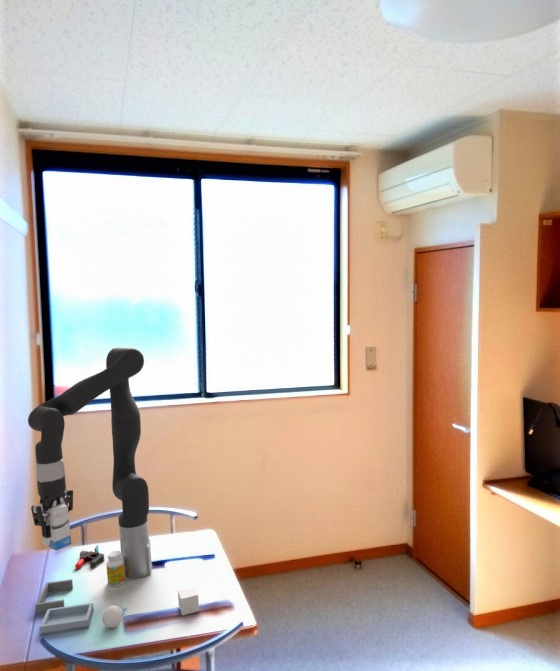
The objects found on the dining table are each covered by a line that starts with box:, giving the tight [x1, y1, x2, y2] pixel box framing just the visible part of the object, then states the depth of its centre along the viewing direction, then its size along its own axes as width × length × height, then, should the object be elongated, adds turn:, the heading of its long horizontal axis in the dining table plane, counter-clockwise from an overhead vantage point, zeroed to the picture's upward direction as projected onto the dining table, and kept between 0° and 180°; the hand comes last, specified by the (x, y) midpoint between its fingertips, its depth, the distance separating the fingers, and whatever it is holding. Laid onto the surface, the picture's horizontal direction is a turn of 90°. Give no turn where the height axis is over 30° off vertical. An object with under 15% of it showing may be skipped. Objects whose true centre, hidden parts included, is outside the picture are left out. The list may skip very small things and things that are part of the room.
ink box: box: [40, 504, 72, 551], centre depth 155 cm, size 8×5×12 cm, turn 50°
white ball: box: [101, 605, 124, 629], centre depth 150 cm, size 8×6×6 cm
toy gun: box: [74, 544, 105, 570], centre depth 187 cm, size 10×12×5 cm
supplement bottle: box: [105, 550, 126, 587], centre depth 172 cm, size 5×5×10 cm
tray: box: [39, 602, 95, 636], centre depth 152 cm, size 9×13×2 cm
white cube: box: [177, 586, 200, 616], centre depth 156 cm, size 5×5×5 cm
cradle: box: [34, 578, 74, 615], centre depth 164 cm, size 8×13×3 cm, turn 10°
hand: (55, 532), depth 155 cm, fingers closed on ink box, 6 cm apart
